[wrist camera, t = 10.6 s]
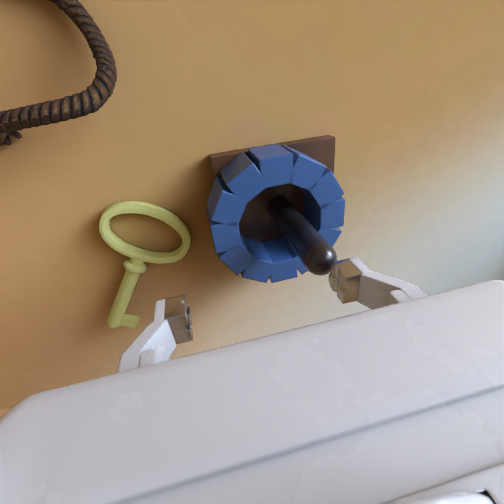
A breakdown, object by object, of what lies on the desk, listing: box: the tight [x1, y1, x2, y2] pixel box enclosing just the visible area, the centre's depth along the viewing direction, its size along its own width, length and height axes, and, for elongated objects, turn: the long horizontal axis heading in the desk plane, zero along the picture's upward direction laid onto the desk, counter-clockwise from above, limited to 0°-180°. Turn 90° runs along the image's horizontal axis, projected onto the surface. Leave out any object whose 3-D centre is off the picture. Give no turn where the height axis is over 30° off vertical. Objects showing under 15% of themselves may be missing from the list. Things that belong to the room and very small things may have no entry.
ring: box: [206, 144, 345, 283], centre depth 23 cm, size 10×10×4 cm
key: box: [99, 201, 191, 328], centre depth 25 cm, size 7×12×2 cm, turn 170°
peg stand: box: [209, 135, 337, 275], centre depth 21 cm, size 10×10×11 cm
